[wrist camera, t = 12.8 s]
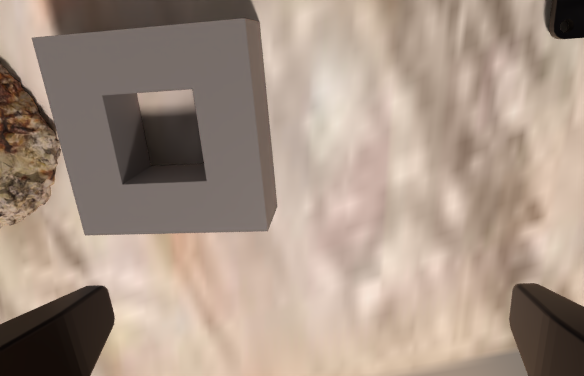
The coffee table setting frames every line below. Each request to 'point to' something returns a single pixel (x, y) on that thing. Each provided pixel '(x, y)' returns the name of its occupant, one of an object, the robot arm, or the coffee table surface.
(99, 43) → the block
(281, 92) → the coffee table surface
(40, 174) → the mineral rock
